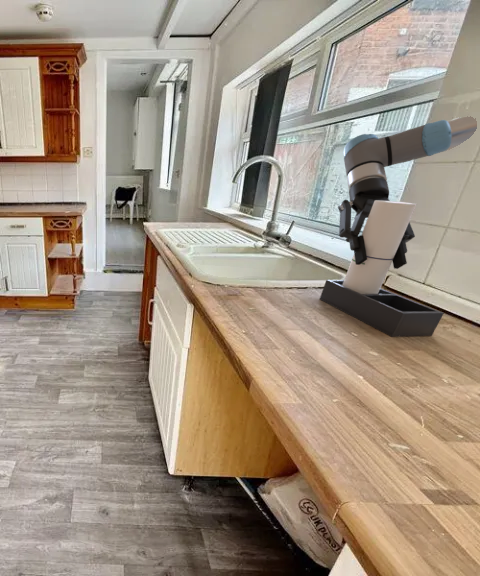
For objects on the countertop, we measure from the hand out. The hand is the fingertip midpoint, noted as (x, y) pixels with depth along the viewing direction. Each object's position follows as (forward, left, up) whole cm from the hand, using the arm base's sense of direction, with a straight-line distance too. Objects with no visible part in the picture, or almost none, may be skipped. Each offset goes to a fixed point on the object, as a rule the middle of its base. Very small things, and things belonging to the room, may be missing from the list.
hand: (380, 263), depth 71 cm
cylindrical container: (-1, -3, -12) cm, 12 cm away
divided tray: (-1, +1, -13) cm, 13 cm away
